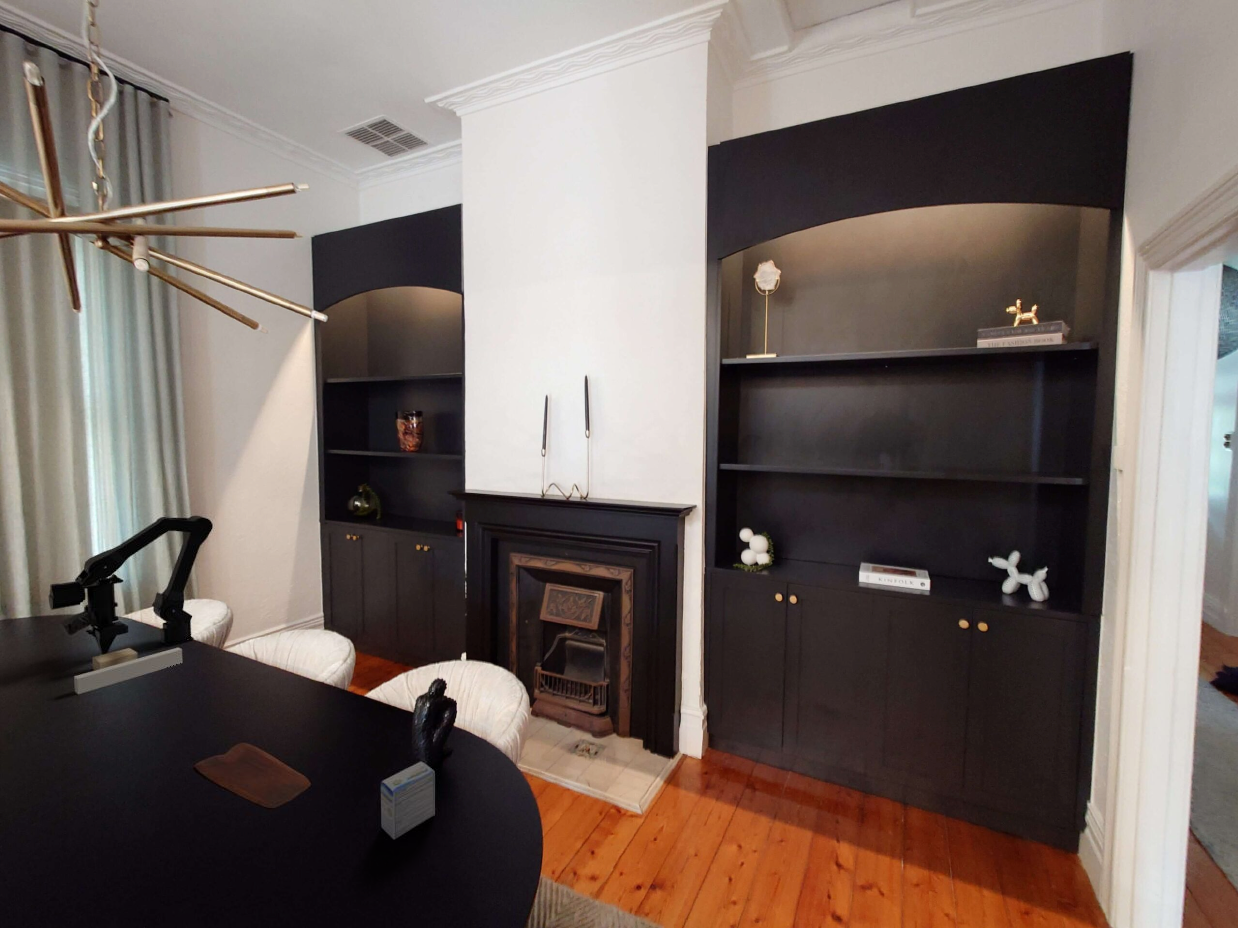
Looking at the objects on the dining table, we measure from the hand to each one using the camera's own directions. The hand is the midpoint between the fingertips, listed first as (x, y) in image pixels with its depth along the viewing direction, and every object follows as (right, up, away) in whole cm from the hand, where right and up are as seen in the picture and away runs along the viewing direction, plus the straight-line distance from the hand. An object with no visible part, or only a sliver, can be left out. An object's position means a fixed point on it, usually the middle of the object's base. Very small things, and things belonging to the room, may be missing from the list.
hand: (104, 653), depth 161 cm
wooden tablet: (+76, -8, -51) cm, 91 cm away
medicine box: (+111, -9, -62) cm, 128 cm away
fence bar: (+17, -3, -10) cm, 20 cm away
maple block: (+7, -2, -4) cm, 9 cm away
